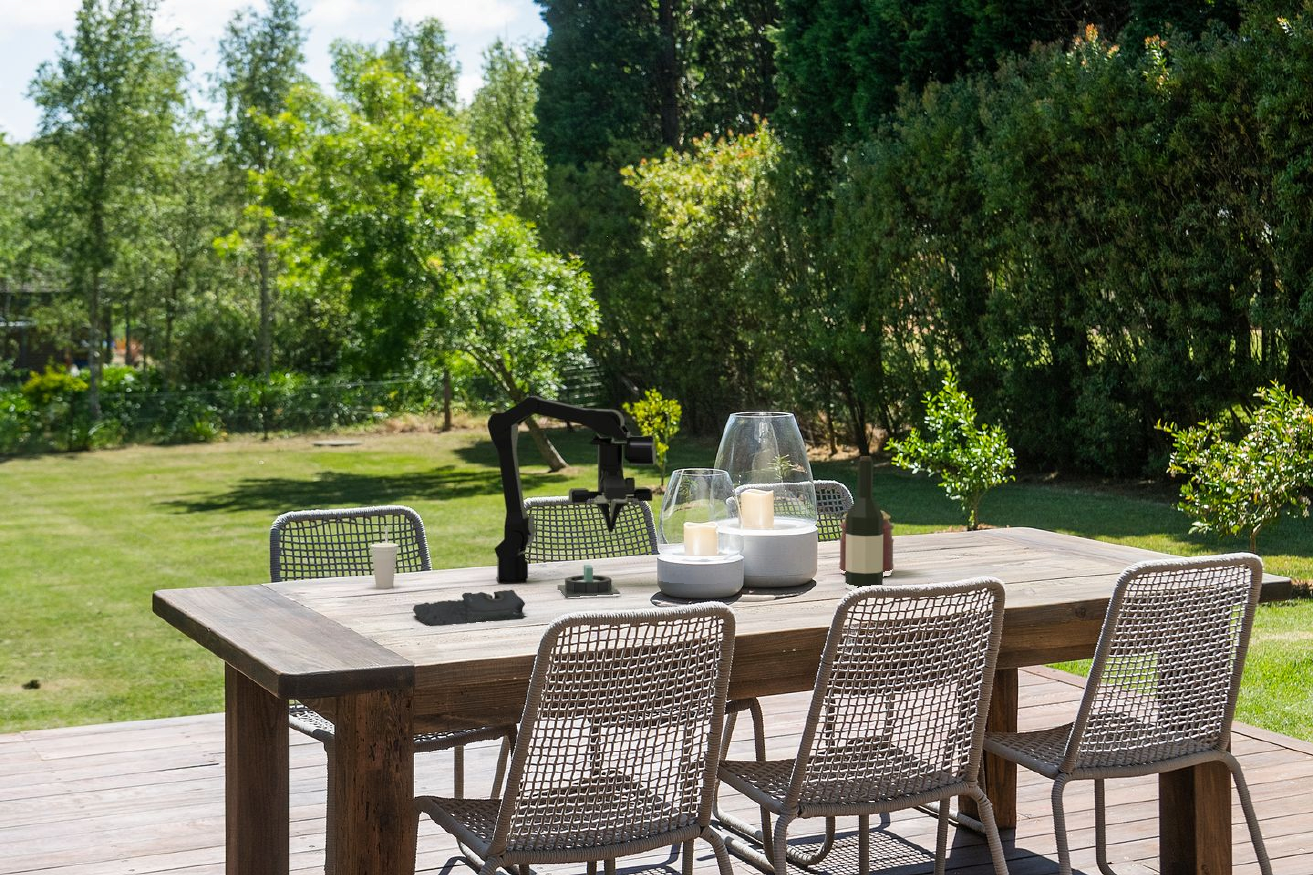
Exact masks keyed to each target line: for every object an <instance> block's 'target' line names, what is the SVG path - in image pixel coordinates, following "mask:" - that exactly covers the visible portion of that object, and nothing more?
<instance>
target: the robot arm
mask: <svg viewBox="0 0 1313 875" xmlns="http://www.w3.org/2000/svg"><path fill="white" fill-rule="evenodd" d="M535 414H536V415H539V416H544V417H548V418H553V419H558V420H561V421H565V422H570V423H575V424H579V425H581V426H584V427H586V428H588V429H589V430H592V431H595V432H596V434H595V435H594V437H593V438H592V440H590V441H588V442H589V443H588V444H589V445H591V446H597V490H596V491H595V490H590V491H589V489H587V488H586V487H573V488H570V489H569V490H568V501H569V502H571V503H575V504H576V503H577V504H578V503H587V502H588V501H589V500H593V501H592V504H593V505H595V506H597V507H598V508H599V511H600V512H601V515H602V518H603V520H604V523H605V527H606V529H607V532H608V533H613V531H614V528H615V525H616V523H617V519H618V517H619V515H620V512H621V510H622V508H624V506H628V504H629V502H628V501H627V500H628V499H634V500H637V501H639V502H652V501H653V491H652V490H651V489H650V488H648V487H646V486H636V482H635V480H636V479H635V477H624V468H623V467H624V465H623V464H624V461H627V462H628V463H629V465H631V466H655V465H656V458H657V449H656V444H655V436H654V435H652V434H651V435H649V434H648V435H633V434H632V433H631V431H630V430H629V428H628V427H627V426H626V425H625V418H624V416H623V414H622V413H621V412H620V411H619V410H616V409H610V408H609V409H608V408H606V409H605V408H585V407H581V406H577V405H572V404H568V403H564V402H560V401H555V400H550V399H546V398H541V397H540V396H539V395H538V396H537V395H531V396H527V397H526V398H525V399H524V400H522V401H520V403H517V404H515V405H514V406H512V407H511V408H509V409H507V410H505V411H499V412H495V413H493V414H492V415H491V416H490V417H489V418H488V420H487V429H488V432H489V435H490V439H491V442H492V444H493V446H494V448H495V449H496V452H497V456H498V463H499V469H500V477H501V482H502V490H503V496H504V502H505V509H506V513H505V519H504V529H503V530H504V531H503V532H504V533H503V536H504V537H503V538H504V539H503V540H502V541H501V542H500V543H499V544H498V545H497V546H496V547H495V548H494V552H495V555H496V558H497V559H496V560H497V561H496V562H497V563H496V564H497V566H496V567H497V576H496V578H495V579H496V581H497V582H498V584H516V583H518V584H519V583H527V582H528V581H527V580H528V578H529V562H528V560H527V559H526V554H525V553H526V550H527V548H528V546H530V545H531V544H532V543H533V542H534V540H535V537H536V536H535V534H536V533H537V532H538V530H537V528H536V524H535V518H536V517H535V515H534V514H533V515H529V514H528V511H527V510H526V508H525V507H526V506H525V501H524V495H523V494H524V493H523V488H522V481H521V480H522V479H521V475H520V467H519V460H518V452H517V446H518V439H519V425H521V424H522V423H524V422H526V421H527V420H528V419H530V418H531V417H533V415H535ZM600 434H601V435H604V436H608V437H602V436H600ZM609 436H612V437H609ZM615 439H616V440H617V441H615ZM623 459H624V461H623ZM608 501H610V503H609V502H608Z"/></svg>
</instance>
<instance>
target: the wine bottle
mask: <svg viewBox="0 0 1313 875" xmlns="http://www.w3.org/2000/svg"><path fill="white" fill-rule="evenodd" d="M856 488H857V490H856V491H857V495H856V496H857V497H856V498H855V500H854V502H853V504H852V505H851V506H850V508H849V510H848V511H847V512H846V514H847V515H846V572H845V575H844V576H845V578H844V580H845V581H844V582H845V583H847V584H849V585H854V586H858V587H857V588H859V587H862V586H871V585H883V579H884V577H883V514H882V513H881V511H882V510H881V509H880V507H879V506H878V504H877V502H876V500H875V499H874V497H873V496H874V495H873V494H874V490H873V489H874V460H873V459H872V456H870V455H869V456H868V455H867V456H866V455H861V456H860V457H859V459H857V487H856ZM880 510H881V511H880ZM845 583H844V584H845Z"/></svg>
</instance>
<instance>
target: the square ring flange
mask: <svg viewBox="0 0 1313 875" xmlns="http://www.w3.org/2000/svg"><path fill="white" fill-rule="evenodd" d="M578 580H584V574H582V575H572V576H568V577H566V578H564V584H557V590H560V591H561V593H562V594H563V595H564V596H565V598H568V597H580V596H597V595H613V594H620V595H621V592H620V591H619V590H618V589H617V588H616V587H615V586H614V585H613V584H612V582H613V580H612V578H611V577H610V576H605V575H598V574H597V575H596V574H595V575H594V574H593V580H599V581H596V582H581V581H578ZM561 593H560V594H561ZM562 594H561V595H562ZM563 595H562V596H563ZM565 598H564V599H565Z"/></svg>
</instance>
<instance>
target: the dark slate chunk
mask: <svg viewBox="0 0 1313 875" xmlns="http://www.w3.org/2000/svg"><path fill="white" fill-rule="evenodd" d="M493 594H494V596H493V595H491V594H490V593H486V592H483V591H480V592H478V593H477V592H476V593H472V592H464V593H462V594H461V597H462V598H463V599H458V600H440V601H435V602H433V603H432V602H431V603H430V602H424V603H419V604H415V605H414V606H413V609H412V612H414V614H415V615H416V616H417V617H418V620H420V622H421V623H423V624H424V625H426V626H430V627H440V626H454V625H453V624H456V625H466V624H467V623H470V624H477V623H476V622H482V623H487V622H486V621H494V622H503V621H516V620H523V619H524V618H528V616H526V615H525V614H523V610H524V609H523V608H524V607H525V605H526V602H525V600H523V599H522V598H521V596H519V595H518V594H517V593H516V592H515V590H514V589H509V590H507V589H506V590H505V589H504V590H498V591H493ZM493 597H494V598H493ZM467 625H468V624H467Z"/></svg>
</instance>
